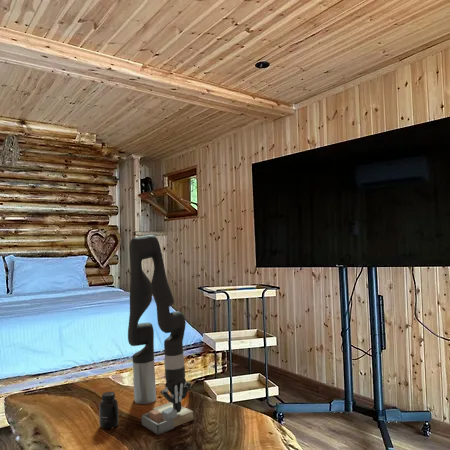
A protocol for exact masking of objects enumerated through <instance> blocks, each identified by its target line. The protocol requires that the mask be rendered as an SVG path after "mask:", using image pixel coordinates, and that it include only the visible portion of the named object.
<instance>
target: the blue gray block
mask: <svg viewBox="0 0 450 450" xmlns="http://www.w3.org/2000/svg"><path fill="white" fill-rule="evenodd" d="M176 417H177V410H176V409H174V408H172V407H170V408H168V409H165V410H163V411H162V418H164V419H166V420H170V419H172V418H176Z"/></svg>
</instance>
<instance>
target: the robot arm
mask: <svg viewBox="0 0 450 450" xmlns="http://www.w3.org/2000/svg"><path fill="white" fill-rule="evenodd" d="M128 248H129V250H128V251H129V263H130V265H129V266H130V285H129V286H130V287H129V318H128V327H127V341H128V344H129V345H130V347H131V346H132V347H136V346H144V347H143V348H142V349H140V350H138V351H137V352H135V353H134V354H133V355H132V374H133V378H132V381H133V399H134V403H135V404H137V405H148V404H151V403H153V402H155V401H156V400H157V387H156V386H157V385H156V369H155V368H156V367H155V349H154V347H155V345H154V344H155V343H154V342H155V337H154V336H155V333H154V327H153V324H152V323H151V322H140V323H139V320H140V319H141V317H142V316H143V315H144V313H145V312H146V310H147V309H148V308H149V307H150V305H151V304H152V300H153V299H154V302H155V306H156V315H157V316H156V318H157V326H158V327H159V329H160V330H161V332H163V333H165V334H169V333H170V334H169V336H168V337H167V338H165V339H164V342H163V346H164V347H163V348H164V361H163V362H164V377H165V381H166V382H165V385H164V388H163V389H161V390H160V394H161V395H162V396H163V397H164V398H165V400H166V401H167V402H168V403H170V402H171V403H173V408H174V409H176V410H177V413H178V412H180V411H181V406H182V400H184V399H186V396H187V395H188V392H189V390H190V388H191V386H192V383H190V382H188V381H187V380H186V365H185V356H184V343H183V342H184V336H185V330H186V317H185V315H184V314H183V313H182V311H178V310H176V311H173V312H171V310H170V307H172V306H173V305H174V304H175V299H174V296H173V293H172V290H171V288H170V286H169V281H168V279H167V273H166V267H165V263H164V258H163V254H162V250H161V245H160V242H159V239H158V237H156V236H155V235H154V234H146V235H140V236H136V237H133V238H131V240H130V242H129V247H128ZM146 259H151V260H152V262H153V274H152V278H151V280H150V278H149V277H148V276H147V275H146V274H145V272H144V270H143V267H142V265H143V262H142V261H143V260H146Z"/></svg>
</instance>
